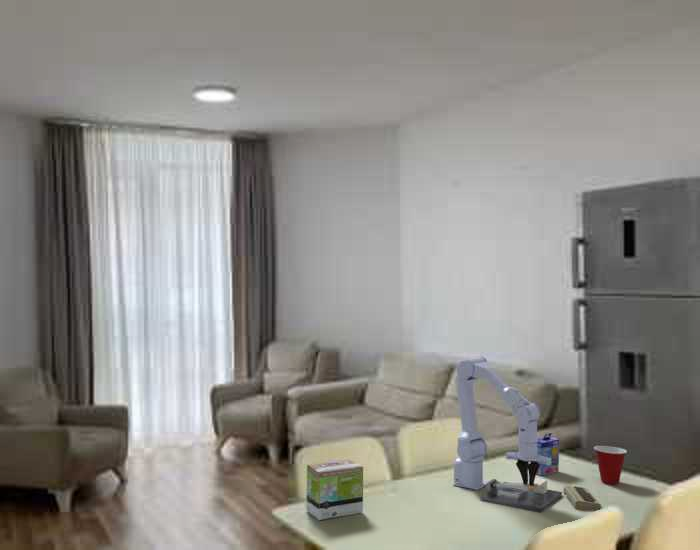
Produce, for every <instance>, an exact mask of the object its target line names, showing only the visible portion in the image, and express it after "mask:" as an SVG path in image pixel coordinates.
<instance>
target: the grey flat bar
mask: <svg viewBox="0 0 700 550" xmlns="http://www.w3.org/2000/svg"><path fill="white" fill-rule="evenodd" d="M496 487H503V488H534V489H535V488H536V487H538V484H536V483H534V484H533V485H529V482H528V483H527V484H526V485H524V484H523V482H509V483H503V482H500V481H498V480H497V482H495V483H494V484H492V488H496Z"/></svg>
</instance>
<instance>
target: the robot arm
mask: <svg viewBox="0 0 700 550" xmlns="http://www.w3.org/2000/svg"><path fill="white" fill-rule="evenodd" d="M479 379H483V380H485V381H486V382H487V383H488V384H489V385H490V386H491V387H493V388H494V389H495V391H497V392H498V393H499V394H500V399H501V401H502V402H503V403H504V404H505V405H506V406H507V407H508V408H509V409H510V410H511V411H512V412H513V414H514V415H513V416H514V418H515V420H516V421H517V422H516V423H517V428H518V452H511V451H507V452H505V460H512V461H513V460H514V461H516V463H515V466H516V467H517V469H518V471H519V473H520V474H519V475H520V476H521V480H522V483H523V484H524V485H526V484H527V483H529V485H533V484H534V480H535V479H536V476H537V474H536V473H537V470H538V468H539V466H540V464H546V465H548V466H549V465H551V458H547V457H543V456H539V455H537V438H538V424H537V423H538V420H539V419H540V418H541V410H540V407H539V406H538V405H537V404H536V403H535V402H530V401H529V400H528V399H527V398H525V397H524V396H523V394H522V393H520V390H519V389H518V388H515V387H513V386H510V387H509V386H508V385H507V384H506V382H505V381H504V380H503V379H502V378H501V376H500V375H499V374H498V373H497V372H496V371H495V370H494V369H493V367H492V364H491V362H490V361H488V360H487V358H486V357H485V356H477V357H472V358H463V359H461V360H460V361H459V362H458V363H457V364H456V377H455V386H456V393H457V400H458V401H457V402H458V408H459V417H460V425H461V431H462V432H461V433H460V435H459V436H458V437H457V447H456V453H457V456H458V457H457V458H456V459H455V461H454V463H453V484H452V485H453V486H456V487H461V488H466V489H472V490H477V491H478V490H480V489H482V488H484V487H485V486H487V482H486V481H484V472H483V471H484V469H483V468H484V463H483V462H484V461H483V460H484V459H485V455H486V454H487V452H488V446H487V445H488V444H487V442H486V441H485V438H484V437H485V436H484V434H483V433H482V432H481V431H480V430H479V425H478V419H477V418H478V417H477V410H476V402H475V395H474V387H473V385H474V384H475V383H476V381H477V380H479Z"/></svg>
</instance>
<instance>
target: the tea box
mask: <svg viewBox="0 0 700 550" xmlns="http://www.w3.org/2000/svg"><path fill="white" fill-rule="evenodd" d="M305 507H306V511H307V512H308V513H309V514H310V515H312V516H313V517H314V518H315V519H317V520H318V521H321V520H327V519H331V518H332V519H333V518H337V517H344V516H350V515H352V516H353V515H357V513H359V514H362V513H363V512H364V466H362V465H361V464H359V463H357V462H355V461H353V460H351V459H349V458H347V459H341V460H340V459H339V460H334V461H333V460H332V461H326V462H318V463H309V464H306V506H305Z"/></svg>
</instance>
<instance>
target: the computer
mask: <svg viewBox="0 0 700 550" xmlns="http://www.w3.org/2000/svg"><path fill="white" fill-rule="evenodd" d="M562 494H563V495H565V496H566V499H567V500H568V501H569V503H570V504H571V506H572V507H574V510H601V509H600V508H602V504H601V503H600V502H599V501H598V499H597V498H595V496H594V495H593V494H592V492H591V491H590V490H589V489H588V488H587V487H583V486H575V485H564V486H563V490H562Z"/></svg>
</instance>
